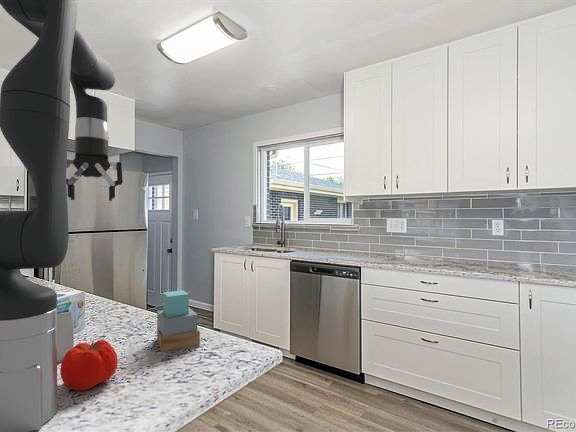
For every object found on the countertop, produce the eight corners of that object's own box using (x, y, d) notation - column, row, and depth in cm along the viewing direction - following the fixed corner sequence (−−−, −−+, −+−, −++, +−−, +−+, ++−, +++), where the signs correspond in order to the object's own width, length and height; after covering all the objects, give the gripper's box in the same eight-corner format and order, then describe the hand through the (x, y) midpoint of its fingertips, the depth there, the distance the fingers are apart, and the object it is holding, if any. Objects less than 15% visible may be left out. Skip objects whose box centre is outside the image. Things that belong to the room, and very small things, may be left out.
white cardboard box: (73, 357, 76) (73, 313, 76) (37, 367, 71) (37, 320, 71) (69, 352, 79) (68, 310, 79) (33, 361, 74) (33, 316, 74)
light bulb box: (52, 342, 85) (52, 300, 85) (30, 340, 86) (30, 298, 86) (86, 328, 95) (86, 290, 95) (66, 326, 97) (66, 289, 96)
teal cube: (188, 313, 84) (188, 293, 84) (168, 317, 81) (168, 296, 81) (182, 309, 88) (182, 290, 88) (162, 312, 85) (162, 292, 85)
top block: (197, 330, 84) (197, 314, 84) (163, 336, 79) (163, 319, 79) (188, 321, 90) (188, 306, 90) (157, 326, 86) (157, 311, 86)
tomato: (50, 396, 60) (50, 354, 60) (80, 372, 69) (80, 336, 69) (103, 396, 60) (103, 354, 60) (126, 372, 69) (125, 336, 69)
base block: (199, 347, 83) (199, 331, 83) (161, 354, 79) (161, 337, 79) (192, 335, 91) (192, 320, 91) (157, 340, 87) (157, 325, 87)
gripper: (57, 132, 81) (57, 199, 81) (122, 138, 87) (122, 200, 88) (61, 138, 88) (61, 200, 88) (122, 143, 94) (122, 201, 94)
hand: (92, 200), depth 88 cm, fingers open, 8 cm apart
